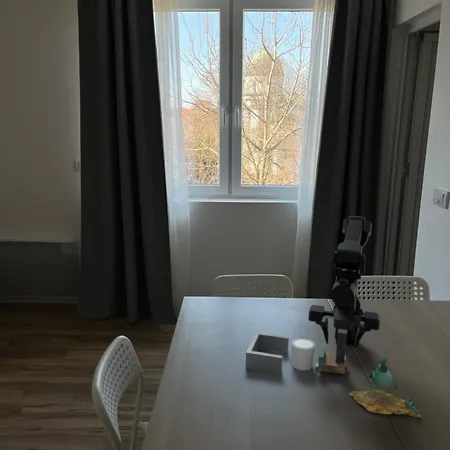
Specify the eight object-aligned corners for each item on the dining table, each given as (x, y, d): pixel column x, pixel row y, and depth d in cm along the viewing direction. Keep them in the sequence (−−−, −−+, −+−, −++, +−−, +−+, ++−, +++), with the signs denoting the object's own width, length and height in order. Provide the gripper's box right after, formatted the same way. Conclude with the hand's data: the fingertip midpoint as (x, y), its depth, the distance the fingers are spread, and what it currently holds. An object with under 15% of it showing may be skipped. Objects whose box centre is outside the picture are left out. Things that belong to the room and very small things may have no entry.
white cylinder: (313, 373, 131) (315, 350, 129) (289, 369, 132) (290, 347, 130) (314, 360, 137) (315, 339, 136) (290, 358, 139) (292, 336, 137)
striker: (345, 360, 135) (348, 326, 132) (344, 375, 127) (347, 338, 125) (320, 357, 137) (322, 322, 134) (317, 370, 129) (320, 334, 127)
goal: (288, 351, 142) (288, 336, 141) (281, 374, 130) (281, 358, 129) (255, 346, 145) (256, 331, 144) (245, 368, 132) (246, 352, 131)
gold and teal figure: (412, 433, 107) (411, 373, 104) (340, 408, 119) (339, 353, 116) (426, 413, 114) (426, 357, 111) (358, 391, 126) (356, 340, 123)
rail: (348, 370, 132) (348, 367, 132) (348, 374, 130) (348, 371, 130) (316, 365, 135) (316, 362, 135) (315, 369, 133) (315, 366, 132)
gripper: (308, 299, 121) (304, 353, 125) (382, 308, 117) (377, 364, 120) (312, 285, 132) (308, 335, 135) (381, 293, 127) (375, 345, 131)
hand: (341, 345), depth 130 cm, fingers open, 7 cm apart
